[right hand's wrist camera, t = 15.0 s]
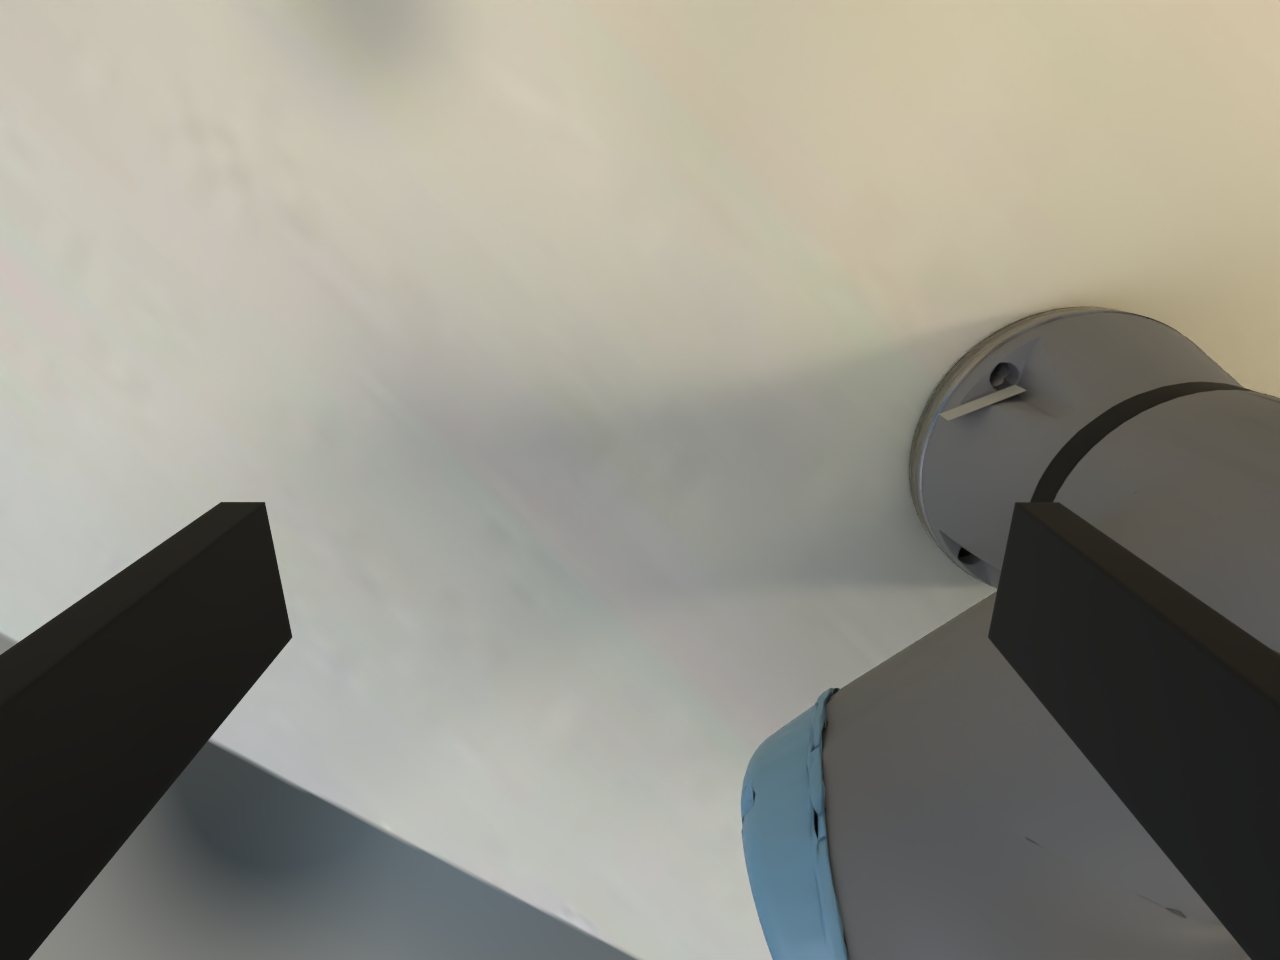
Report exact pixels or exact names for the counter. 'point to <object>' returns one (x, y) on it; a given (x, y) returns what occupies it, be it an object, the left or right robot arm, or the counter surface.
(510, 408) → the counter surface
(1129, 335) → the right robot arm
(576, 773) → the counter surface
